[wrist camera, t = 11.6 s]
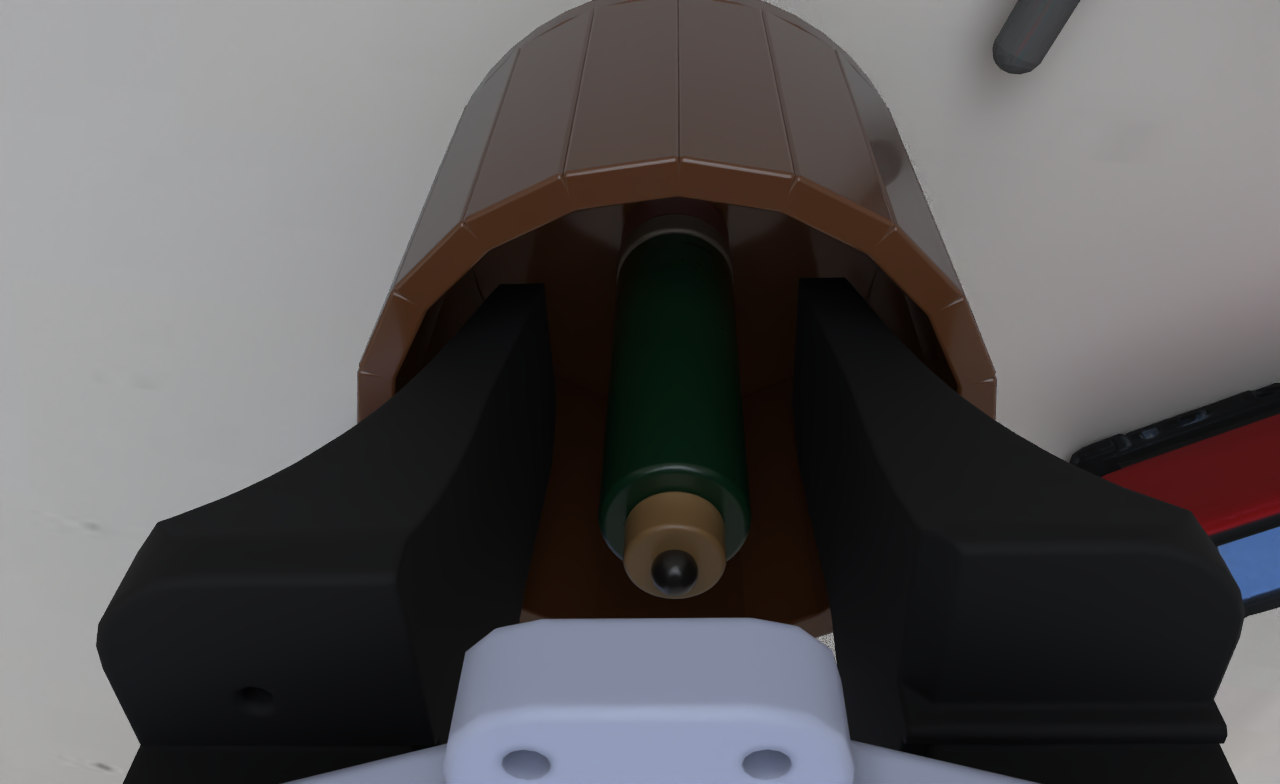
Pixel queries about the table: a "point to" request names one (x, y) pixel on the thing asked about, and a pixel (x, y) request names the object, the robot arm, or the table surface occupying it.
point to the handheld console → (1212, 480)
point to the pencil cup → (758, 238)
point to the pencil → (675, 403)
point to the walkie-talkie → (1030, 33)
